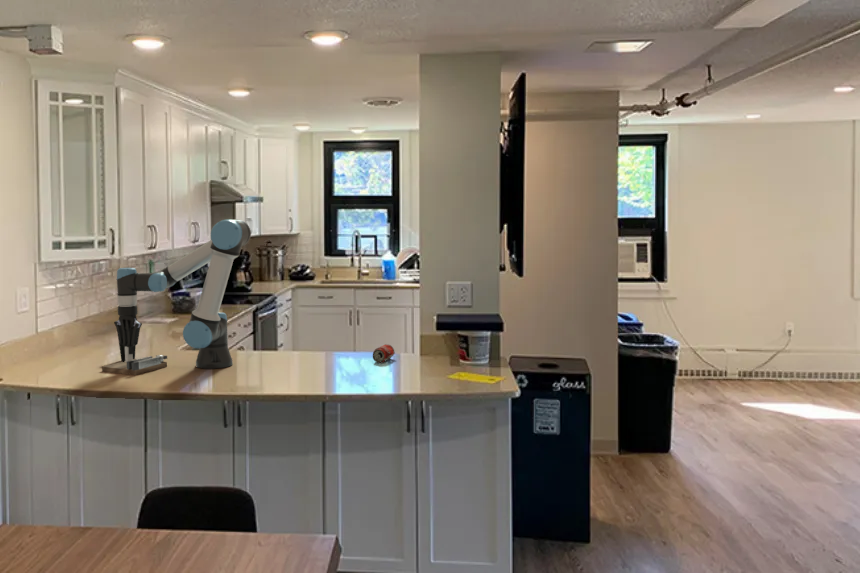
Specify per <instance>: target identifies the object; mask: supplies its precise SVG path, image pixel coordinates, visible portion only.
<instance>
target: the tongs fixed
mask: <svg viewBox="0 0 860 573" xmlns="http://www.w3.org/2000/svg"><path fill="white" fill-rule="evenodd" d="M166 359H167V360H168V355H164V354H158V355H155V356H154V357H152V358H150V359H146V360H142V361H138V362H133V363H132V370H138V369H142V368H146V367H150V366H154V365H158V364H161V363H163V362H165V361H164V360H166Z"/></svg>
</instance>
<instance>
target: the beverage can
mask: <svg viewBox="0 0 860 573" xmlns="http://www.w3.org/2000/svg"><path fill="white" fill-rule="evenodd" d="M395 354H396V353H395V349H394V347H393V346H392V345H391V344H387V343H386V344H384V345H381V346H378V347H377V348H375V349H374V350H373V353H372V359H373V361H375V363H377V364H383V363H385V362H387V361H389V360H391V358H392V357H393V356H395Z"/></svg>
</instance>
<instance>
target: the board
mask: <svg viewBox="0 0 860 573" xmlns="http://www.w3.org/2000/svg"><path fill="white" fill-rule="evenodd" d="M136 359H137V358H135V359H133V360H136ZM167 367H168V362H167V361H164V362H163V363H161V364H158V365H154V366H150V367H146V368H142V369H138V370H132V369H127V362H125V361H124V362H123V361H121V362H117V363H112V364H107V365H103V366H101V371H102V373H103V372H104V373H111V374H112V373H114V374H121V373H122V375H123V374H124V375H130V374H131V375H132V376H137V375H141V374H143V373H144V374H145V373H149V372H152V371H155V370H160V369H164V368H167ZM140 373H141V374H140ZM136 374H137V375H136Z"/></svg>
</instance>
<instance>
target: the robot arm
mask: <svg viewBox="0 0 860 573" xmlns="http://www.w3.org/2000/svg"><path fill="white" fill-rule="evenodd" d="M251 236H252V232H251V228H250V226H249V225H248V223H247V222H245V221H244V220H242V219H238V218H234V219H231V218H230V219H229V218H227V219H226V218H225V219H221V220H220V221H218V222H217V223H215V224H214V225H213V227H212V228H211V231H210V240H208V241H207V242H205V243H204V244H202V245H201V246H199V247H198V248H195V249H194V250H192V251H191V252H189V253H188V254H186V255H184V256H182V257H181V258H179V259H177V260H176V261H175V262H172V263H171V264H169V265H167V266H166V267H165V268H163V269H161V270H158V271H154V272H137V269H136V268H135V267H119V268H118V269H117V270H116V287H117V288H116V290H117V296H116V297H117V299H116V300H117V302H116V303H117V305H118V306H117V315H119V317H118V320H115V321H114V325H115V329H116V333H117V338H119V340H118V344H119V343H120V344H122V345H123V346H124V354H125V362H127V361H132V360H133V353H134V345H136V346H137V345H138V343H139V338H140V330H141V328H142V325H143V323H142V322H139V321H138V318H137V315H138V292H154V293H159V292H164V291H165V290H166V289H169V288H171V287H173V286H174V285H175V284H176V283H177V282H179V281H180V280H182V279H184V278H185V277H187V276H189V275H191V274H192V273H193V272H195V271H197V270H199V269H200V268H202V267H204V266H205V265H208V263H209V265H208V269H207V272H206V274H205V275H206V276H205V278H204V279H205V280H204V283H203V287H202V289H201V294H200V297H199V299H198V305H197V308H196V309H194V310H192V311H191V314H190V319H189V322H187V323H186V324H185V325H184V327H183V330H182V337H183V340H184V342H185V343H186V344H187V345H188V346H189V347H191V348H194V349H198V350H199V351H198V353H197V356H196V360H195V367H196V368H198V369H203V370H204V369H205V370H207V369H210V370H211V369H223V368H228V367H231V366H233V358H232V355H231V353H230V349H229V345H228V344H229V341H228V339H229V338H228V315H227V314H226V313H225V312H220V310H221V309H220V308H221V305H222V301H223V299H224V295H225V292H226V288H227V285H228V280H229V278H230V273H231V271H232V266H233V264H234V263H233V262H234V260H235V259H237V258H238V257H239V256H240V253H241V250H242V247H244V246H245V245H247V244H248V243H249V241H250V239H251Z"/></svg>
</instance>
